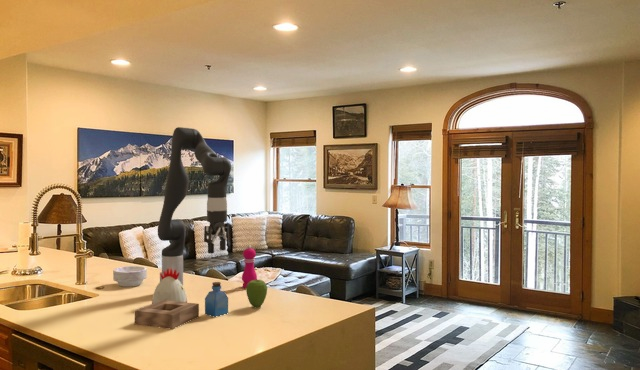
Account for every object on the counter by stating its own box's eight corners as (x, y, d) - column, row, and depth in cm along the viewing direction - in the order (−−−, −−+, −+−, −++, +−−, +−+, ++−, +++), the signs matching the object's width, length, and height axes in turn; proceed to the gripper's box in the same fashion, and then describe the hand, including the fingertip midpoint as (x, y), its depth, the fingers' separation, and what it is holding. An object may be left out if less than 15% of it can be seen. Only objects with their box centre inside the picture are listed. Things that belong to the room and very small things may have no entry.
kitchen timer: (177, 310, 197) (177, 272, 196) (145, 308, 200) (145, 271, 199) (192, 301, 210) (192, 266, 210) (162, 300, 213) (162, 265, 213)
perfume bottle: (217, 311, 196) (217, 280, 196) (228, 313, 192) (228, 282, 192) (204, 314, 191) (205, 283, 191) (215, 317, 188) (215, 285, 187)
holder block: (134, 324, 178) (134, 310, 178) (163, 312, 193) (163, 300, 193) (172, 329, 172) (172, 314, 172) (198, 317, 188) (198, 303, 187)
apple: (244, 305, 204) (244, 277, 204) (264, 303, 207) (264, 276, 207) (248, 311, 196) (248, 281, 196) (269, 309, 199) (269, 280, 199)
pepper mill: (238, 287, 237) (238, 245, 237) (247, 284, 243) (247, 243, 243) (251, 289, 234) (251, 246, 233) (259, 286, 240) (260, 244, 240)
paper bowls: (136, 289, 234) (136, 272, 233) (106, 287, 236) (106, 270, 236) (152, 282, 249) (152, 266, 248) (124, 281, 251) (124, 265, 251)
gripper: (218, 208, 199) (218, 248, 200) (198, 210, 186) (198, 253, 186) (234, 208, 197) (234, 249, 197) (215, 210, 183) (215, 255, 184)
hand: (216, 251), depth 192 cm, fingers open, 8 cm apart
